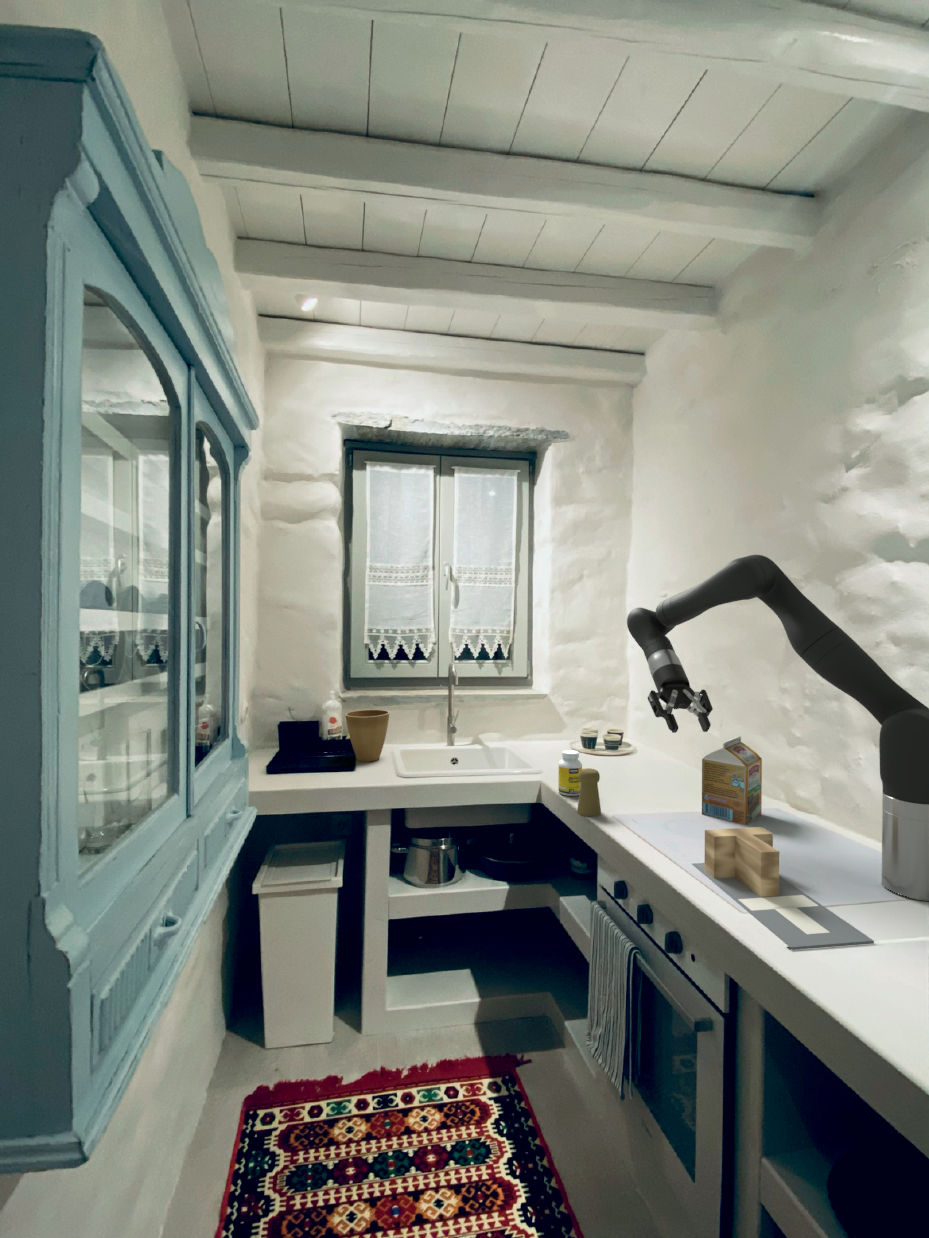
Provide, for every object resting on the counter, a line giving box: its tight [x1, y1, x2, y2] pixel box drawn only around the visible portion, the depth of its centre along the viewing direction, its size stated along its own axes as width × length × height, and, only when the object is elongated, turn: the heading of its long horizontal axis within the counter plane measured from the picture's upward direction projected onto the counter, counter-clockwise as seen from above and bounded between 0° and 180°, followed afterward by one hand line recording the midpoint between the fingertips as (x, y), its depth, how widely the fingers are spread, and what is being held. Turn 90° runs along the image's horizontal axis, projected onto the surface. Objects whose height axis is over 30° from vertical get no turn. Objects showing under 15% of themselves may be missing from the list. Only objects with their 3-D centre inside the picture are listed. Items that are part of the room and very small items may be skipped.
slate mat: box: [691, 862, 875, 951], centre depth 107 cm, size 14×30×1 cm, turn 7°
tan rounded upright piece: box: [576, 767, 602, 818], centre depth 152 cm, size 6×6×11 cm
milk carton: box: [701, 735, 763, 826], centre depth 151 cm, size 11×10×19 cm
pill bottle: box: [558, 749, 583, 797], centre depth 168 cm, size 6×6×12 cm
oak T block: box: [704, 826, 780, 897], centre depth 113 cm, size 12×12×8 cm
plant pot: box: [345, 709, 390, 763], centre depth 206 cm, size 15×15×16 cm
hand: (691, 730), depth 135 cm, fingers open, 7 cm apart
